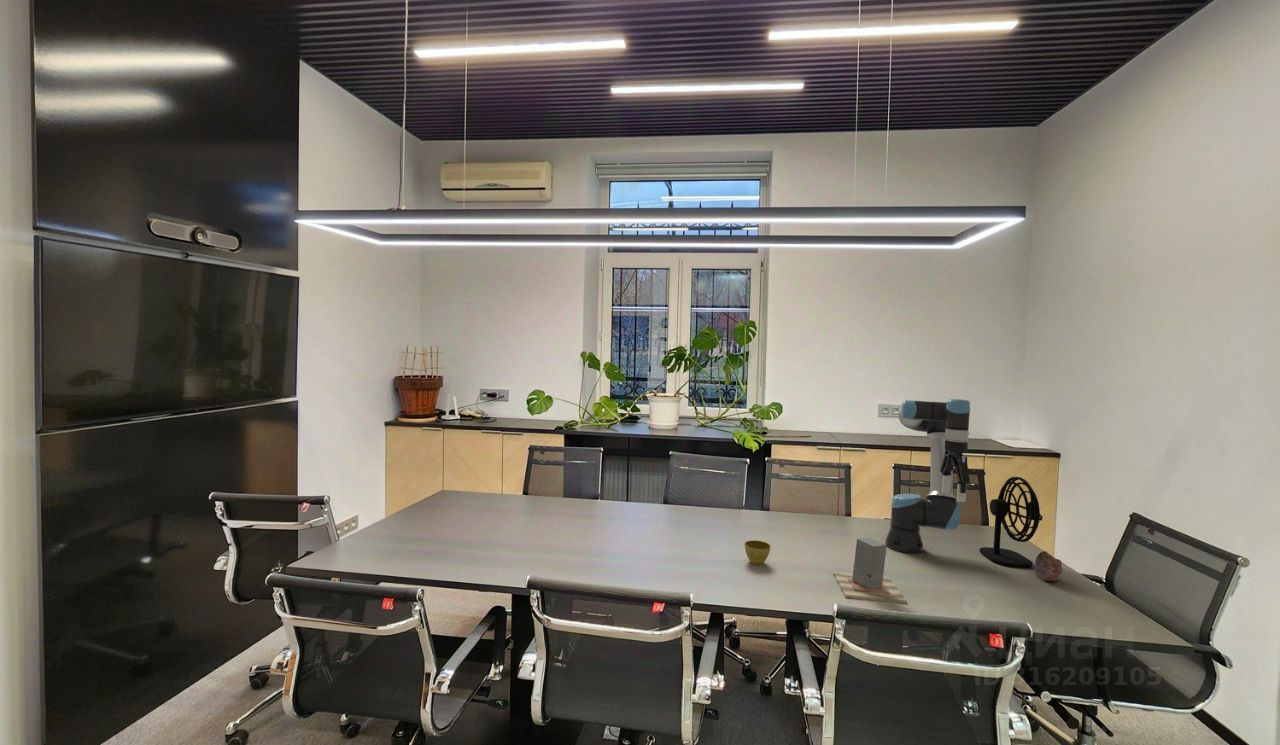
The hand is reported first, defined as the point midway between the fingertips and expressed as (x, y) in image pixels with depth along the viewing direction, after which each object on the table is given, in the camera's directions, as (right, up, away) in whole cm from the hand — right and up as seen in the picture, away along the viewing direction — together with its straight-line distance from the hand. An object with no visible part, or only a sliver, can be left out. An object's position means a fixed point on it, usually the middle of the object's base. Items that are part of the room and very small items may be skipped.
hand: (953, 496), depth 208 cm
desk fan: (+38, -32, +26) cm, 56 cm away
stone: (+41, -33, +5) cm, 53 cm away
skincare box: (-36, -30, -9) cm, 47 cm away
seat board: (-36, -31, -9) cm, 48 cm away
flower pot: (-71, -29, +12) cm, 78 cm away
